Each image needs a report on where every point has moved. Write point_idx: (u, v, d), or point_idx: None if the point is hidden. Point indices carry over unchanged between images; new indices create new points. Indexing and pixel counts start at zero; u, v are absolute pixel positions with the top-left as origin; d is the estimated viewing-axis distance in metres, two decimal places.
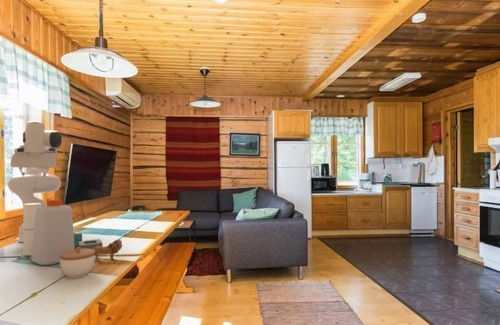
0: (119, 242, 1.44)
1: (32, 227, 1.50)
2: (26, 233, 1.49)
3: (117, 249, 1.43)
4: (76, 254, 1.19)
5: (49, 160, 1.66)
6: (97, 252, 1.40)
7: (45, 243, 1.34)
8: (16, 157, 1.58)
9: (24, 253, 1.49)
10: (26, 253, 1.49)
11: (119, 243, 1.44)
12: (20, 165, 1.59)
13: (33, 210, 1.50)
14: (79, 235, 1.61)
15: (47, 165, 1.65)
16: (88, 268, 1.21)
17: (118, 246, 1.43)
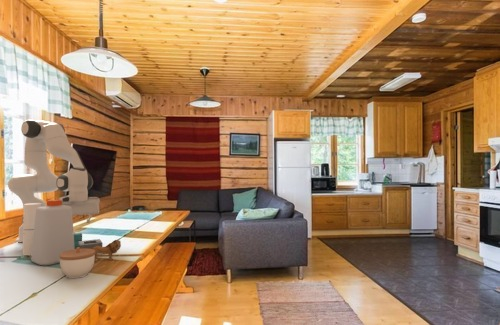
0: (118, 242, 1.44)
1: (32, 227, 1.50)
2: (26, 233, 1.49)
3: (116, 249, 1.43)
4: (76, 254, 1.19)
5: (92, 207, 1.65)
6: (96, 252, 1.40)
7: (45, 243, 1.34)
8: None
9: (24, 253, 1.49)
10: (26, 253, 1.49)
11: (118, 243, 1.44)
12: None
13: (33, 210, 1.50)
14: (79, 235, 1.61)
15: (91, 212, 1.64)
16: (88, 268, 1.21)
17: (117, 246, 1.43)
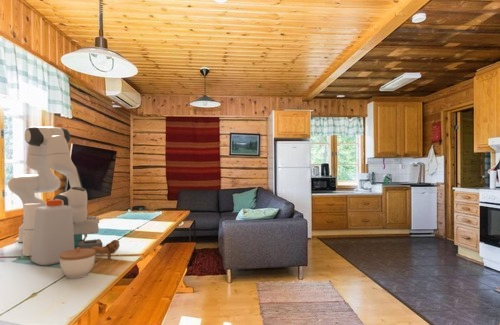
0: (116, 242, 1.44)
1: (32, 227, 1.50)
2: (26, 233, 1.49)
3: (114, 249, 1.42)
4: (76, 254, 1.19)
5: (91, 226, 1.65)
6: None
7: (45, 243, 1.34)
8: None
9: (24, 253, 1.49)
10: (26, 253, 1.49)
11: (116, 243, 1.43)
12: None
13: (33, 210, 1.50)
14: (79, 235, 1.61)
15: (90, 232, 1.64)
16: (88, 268, 1.21)
17: (115, 246, 1.43)
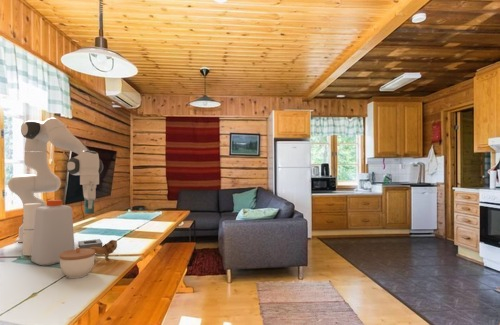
0: (114, 242, 1.43)
1: (32, 227, 1.50)
2: (26, 233, 1.49)
3: (112, 249, 1.42)
4: (76, 254, 1.19)
5: None
6: None
7: (45, 243, 1.34)
8: (84, 189, 1.63)
9: (24, 253, 1.49)
10: (26, 253, 1.49)
11: (114, 243, 1.43)
12: (84, 197, 1.61)
13: (33, 210, 1.50)
14: (85, 199, 1.55)
15: (86, 198, 1.51)
16: (88, 268, 1.21)
17: (113, 246, 1.43)
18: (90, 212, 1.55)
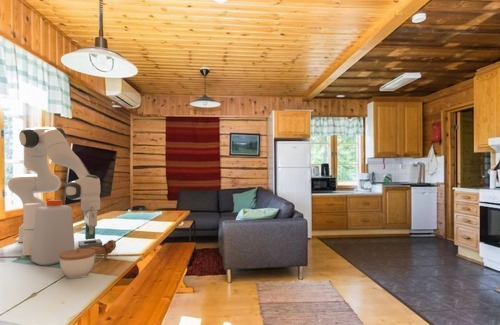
0: (113, 242, 1.43)
1: (32, 227, 1.50)
2: (26, 233, 1.49)
3: (111, 249, 1.42)
4: (76, 254, 1.19)
5: (88, 218, 1.50)
6: None
7: (45, 243, 1.34)
8: (84, 213, 1.61)
9: (24, 253, 1.49)
10: (26, 253, 1.49)
11: (113, 243, 1.43)
12: (85, 221, 1.60)
13: (33, 210, 1.50)
14: (86, 224, 1.54)
15: (87, 224, 1.50)
16: (88, 268, 1.21)
17: (112, 246, 1.43)
18: (91, 237, 1.54)
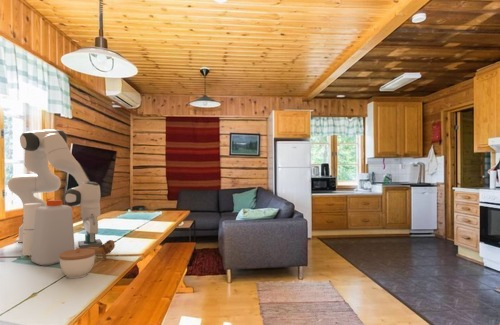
0: (112, 242, 1.43)
1: (32, 227, 1.50)
2: (26, 233, 1.49)
3: (110, 249, 1.42)
4: (76, 254, 1.19)
5: (88, 225, 1.50)
6: None
7: (45, 243, 1.34)
8: (84, 219, 1.61)
9: (24, 253, 1.49)
10: (26, 253, 1.49)
11: (112, 243, 1.43)
12: (84, 228, 1.60)
13: (33, 210, 1.50)
14: (86, 236, 1.54)
15: (88, 231, 1.50)
16: (88, 268, 1.21)
17: (111, 246, 1.42)
18: None
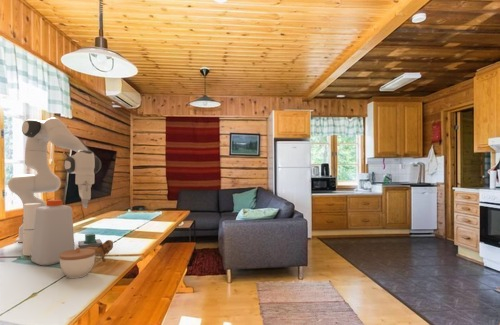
0: (110, 242, 1.43)
1: (32, 227, 1.50)
2: (26, 233, 1.49)
3: (108, 249, 1.42)
4: (76, 254, 1.19)
5: (82, 192, 1.53)
6: None
7: (45, 243, 1.34)
8: (79, 187, 1.65)
9: (24, 253, 1.49)
10: (26, 253, 1.49)
11: (110, 243, 1.43)
12: (79, 195, 1.63)
13: (33, 210, 1.50)
14: (86, 236, 1.54)
15: (81, 198, 1.53)
16: (88, 268, 1.21)
17: (109, 246, 1.42)
18: None
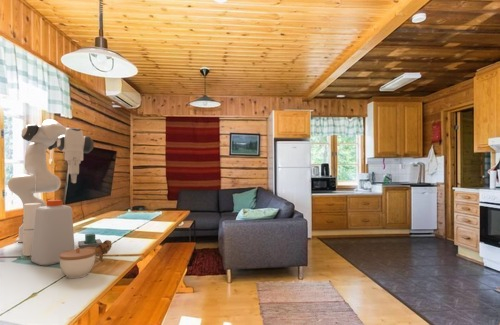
0: (109, 242, 1.43)
1: (32, 227, 1.50)
2: (26, 233, 1.49)
3: (107, 249, 1.42)
4: (76, 254, 1.19)
5: None
6: None
7: (45, 243, 1.34)
8: (69, 165, 1.71)
9: (24, 253, 1.49)
10: (26, 253, 1.49)
11: (109, 243, 1.43)
12: (69, 172, 1.69)
13: (33, 210, 1.50)
14: (86, 236, 1.54)
15: (70, 172, 1.59)
16: (88, 268, 1.21)
17: (108, 246, 1.42)
18: None
